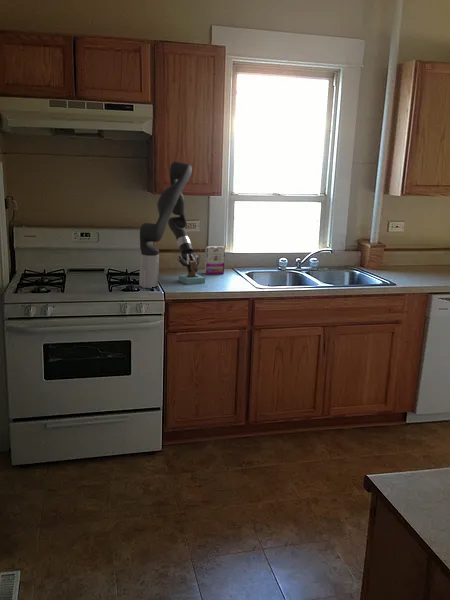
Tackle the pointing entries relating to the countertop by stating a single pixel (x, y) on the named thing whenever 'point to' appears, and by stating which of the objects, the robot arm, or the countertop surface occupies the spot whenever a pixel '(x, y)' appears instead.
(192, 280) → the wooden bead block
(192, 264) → the tall brown block
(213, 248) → the candy bar box
